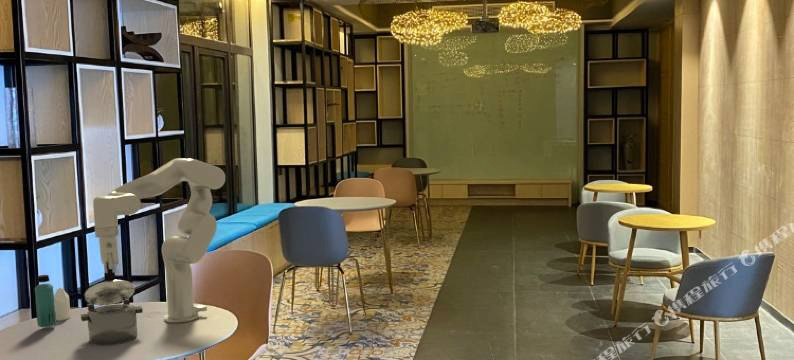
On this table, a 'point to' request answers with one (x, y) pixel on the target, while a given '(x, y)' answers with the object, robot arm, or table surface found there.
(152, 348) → the table surface
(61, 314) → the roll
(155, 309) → the table surface
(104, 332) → the cooker pot
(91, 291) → the cooker lid
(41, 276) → the beverage bottle
